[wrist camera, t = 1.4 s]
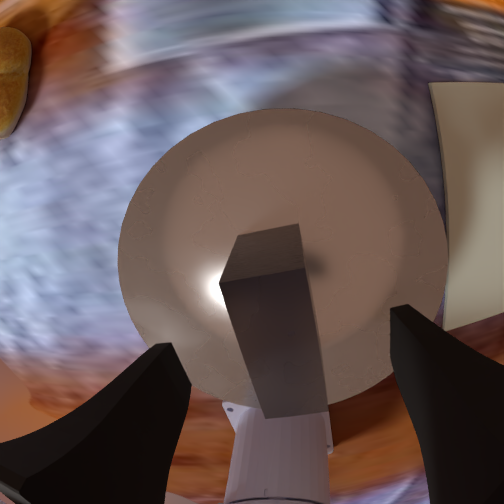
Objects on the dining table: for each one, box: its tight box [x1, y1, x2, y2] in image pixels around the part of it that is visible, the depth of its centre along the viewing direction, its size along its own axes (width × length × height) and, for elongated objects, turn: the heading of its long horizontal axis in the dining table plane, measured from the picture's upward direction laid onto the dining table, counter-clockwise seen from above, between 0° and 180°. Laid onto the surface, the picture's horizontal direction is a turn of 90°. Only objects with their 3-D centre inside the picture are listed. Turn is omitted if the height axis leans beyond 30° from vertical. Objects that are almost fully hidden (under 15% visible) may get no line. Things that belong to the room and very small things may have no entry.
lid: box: [118, 109, 448, 419], centre depth 12 cm, size 15×15×5 cm
